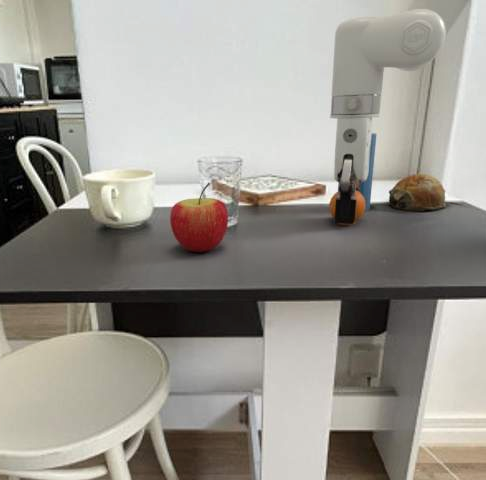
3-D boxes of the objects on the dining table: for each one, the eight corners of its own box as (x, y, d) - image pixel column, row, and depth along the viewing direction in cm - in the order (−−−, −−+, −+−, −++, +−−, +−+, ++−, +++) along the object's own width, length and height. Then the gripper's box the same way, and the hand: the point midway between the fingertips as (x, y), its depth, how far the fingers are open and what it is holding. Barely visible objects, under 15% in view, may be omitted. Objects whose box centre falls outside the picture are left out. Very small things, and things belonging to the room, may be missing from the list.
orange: (348, 217, 80) (350, 184, 78) (371, 224, 75) (375, 189, 73) (321, 221, 78) (323, 187, 76) (343, 229, 73) (346, 193, 71)
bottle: (354, 204, 90) (362, 110, 83) (376, 209, 84) (386, 110, 78) (331, 207, 87) (336, 112, 81) (351, 213, 82) (359, 111, 76)
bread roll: (438, 230, 82) (465, 192, 79) (389, 207, 82) (413, 168, 79) (423, 217, 91) (446, 182, 88) (378, 197, 91) (400, 161, 88)
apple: (230, 257, 62) (228, 186, 58) (170, 259, 62) (165, 189, 58) (227, 240, 70) (225, 177, 66) (174, 242, 70) (169, 179, 66)
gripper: (377, 108, 61) (365, 233, 68) (382, 105, 76) (372, 208, 82) (322, 110, 64) (316, 230, 70) (337, 107, 78) (331, 206, 85)
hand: (346, 217), depth 76 cm, fingers closed on orange, 5 cm apart
